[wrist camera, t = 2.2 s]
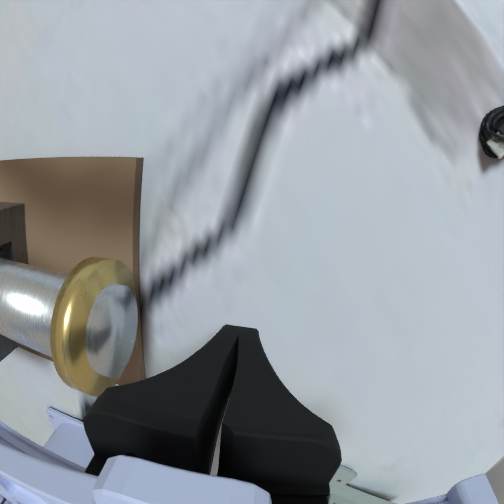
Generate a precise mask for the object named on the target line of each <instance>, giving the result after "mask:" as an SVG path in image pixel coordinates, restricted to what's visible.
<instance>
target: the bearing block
mask: <svg viewBox="0 0 504 504" xmlns="http://www.w3.org/2000/svg"><path fill="white" fill-rule="evenodd" d="M0 257H1V258H4V259H8V260H12V261H16V262H20V263H24V264H28V265H29V261H28V252H27V241H26V226H25V203H11V202H0ZM19 345H20V343H18V342H16V341H14V340H11V339H9V338H7V337H5V336H3V335H1V334H0V361H1V360H3V359H4V358H5V357H6V356H7V355H8V354H10V353H11V352H12V351H13V350H14V349H15V348H17V347H18V346H19Z"/></svg>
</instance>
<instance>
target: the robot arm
mask: <svg viewBox="0 0 504 504" xmlns="http://www.w3.org/2000/svg"><path fill="white" fill-rule="evenodd" d="M230 394H231V395H230ZM229 397H230V399H229ZM228 400H229V402H228ZM227 404H228V406H227ZM226 407H227V409H226ZM225 410H226V412H225ZM46 411H47V414H48V416H49V419H50V421H51V423H52V425H53V427H54V429H55V431H54V433H53V434H52V436H51V437H50V438H49V440H48V441H47V443H46V444H45V445H44V447H42V446H40V445H38V444H36V443H35V442H33V441H31V440H29V439H28V438H26V437H24V436H23V435H21V434H19V433H18V432H16V431H15V430H13V429H11V428H10V427H8V426H7V425H5V424H4V423H2V422H1V421H0V504H328V498H327V496H329V495H330V485H329V483H330V481H331V480H332V478H333V476H334V475H335V473H336V471H337V470H338V468H339V466H340V464H341V461H342V459H341V450H340V446H339V443H338V440H337V437H336V434H335V432H334V429H333V427H332V425H330V424H329V423H327V422H326V421H324V420H323V419H321V418H319V417H318V416H316V415H315V414H313V413H312V412H311V411H310V410H308V409H307V408H306V407H305V406H303V405H302V404H301V403H300V402H299V401H298V400H297V399H296V398H295V397H294V396H293V395H292V394H291V393H290V392H289V391H288V389H287V388H286V387H285V386H284V384H283V383H282V382H281V380H280V379H279V378H278V376H277V375H276V373H275V371H274V370H273V368H272V366H271V364H270V362H269V361H268V359H267V356H266V354H265V352H264V350H263V347H262V344H261V341H260V338H259V332H258V330H257V329H254V328H247V327H240V326H233V325H225V326H223V327H222V328H221V330H220V331H219V332H218V333H217V334H216V335H215V336H214V337H213V338H212V339H211V340H210V341H209V342H208V343H207V344H205V345H204V346H203V347H202V348H201V349H200V350H198V351H197V352H196V353H194V354H193V355H192V356H190V357H189V358H188V359H186V360H185V361H183V362H182V363H180V364H178V365H177V366H175V367H173V368H171V369H169V370H167V371H165V372H162V373H160V374H158V375H156V376H153V377H150V378H147V379H144V380H141V381H137V382H134V383H130V384H125V385H120V386H114V387H108V388H106V389H105V391H104V392H103V393H102V394H101V395H100V396H99V397H98V398H97V400H96V401H95V402H94V404H93V405H92V407H91V408H90V410H89V411H88V413H87V414H86V416H85V417H84V421H83V422H82V421H80V420H77V419H75V418H72V417H70V416H68V415H66V414H63V413H61V412H59V411H57V410H55V409H52V408H50V407H48V408H47V409H46ZM224 413H225V416H224ZM223 416H224V419H223ZM222 419H223V422H222ZM221 422H222V430H221V442H220V455H219V467H218V473H217V476H213V475H210V472H211V467H212V462H213V456H214V451H215V446H216V441H217V437H218V432H219V429H220V425H221ZM407 504H498V502H497V499H496V497H495V495H494V492H493V490H492V488H491V486H490V484H489V482H488V480H487V477H486V475H485V474H480V475H477V476H474V477H471V478H468V479H465V480H462V481H460V482H458V483H457V484H455V485H454V486H453V487H452V488H451V489H450V490H449V491H448V493H447V494H445V495H441V496H437V497H433V498H429V499H425V500H421V501H416V502H412V503H407Z"/></svg>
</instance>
